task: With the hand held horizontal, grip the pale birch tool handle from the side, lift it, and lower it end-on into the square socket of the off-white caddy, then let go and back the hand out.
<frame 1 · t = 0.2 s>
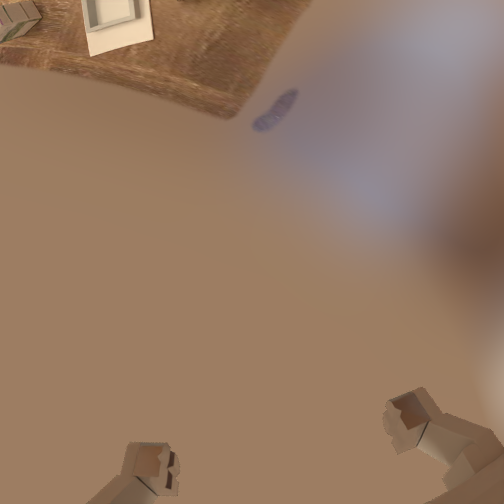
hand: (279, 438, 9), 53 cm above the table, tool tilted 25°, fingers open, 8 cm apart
caddy: (116, 4, 31), on the table
syrup box: (28, 18, 27), on the table
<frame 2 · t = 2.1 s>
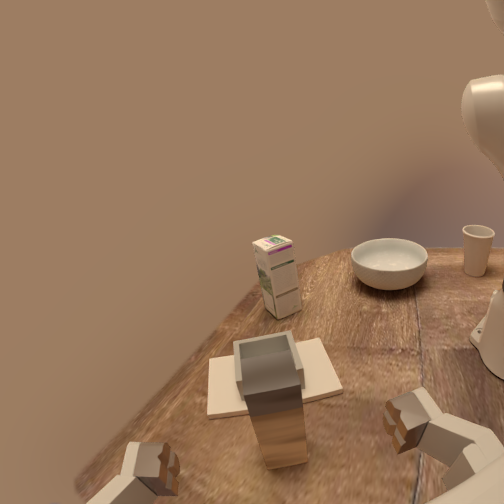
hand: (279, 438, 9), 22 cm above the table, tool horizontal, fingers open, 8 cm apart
caddy: (270, 379, 40), on the table
cereal bowl: (388, 282, 59), on the table
dixie cup: (474, 272, 53), on the table
tool handle: (284, 451, 28), on the table
syrup box: (283, 310, 57), on the table
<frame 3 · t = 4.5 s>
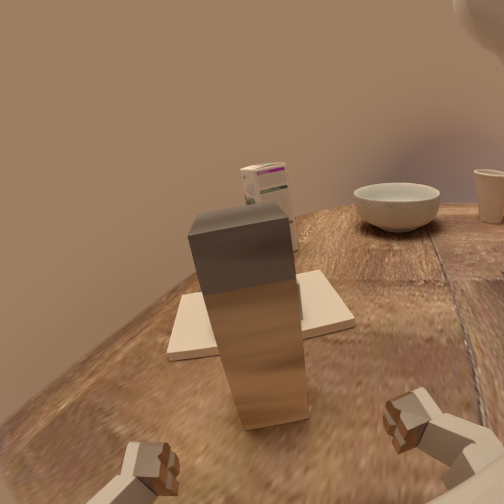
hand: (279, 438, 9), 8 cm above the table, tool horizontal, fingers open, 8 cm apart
caddy: (256, 314, 32), on the table
cereal bowl: (398, 227, 51), on the table
dixie cup: (490, 220, 45), on the table
tool handle: (272, 402, 20), on the table
syrup box: (276, 252, 49), on the table
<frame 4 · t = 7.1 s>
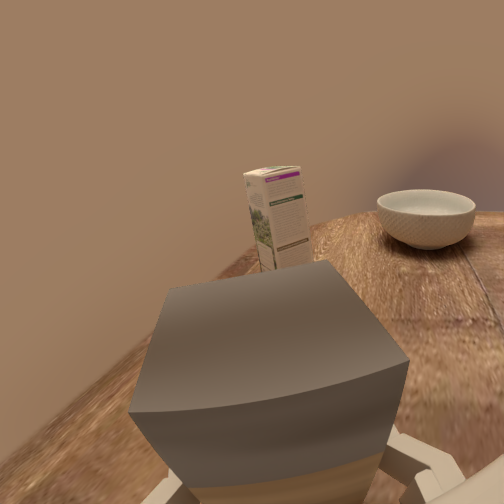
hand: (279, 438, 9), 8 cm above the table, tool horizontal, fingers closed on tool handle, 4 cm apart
cereal bowl: (426, 242, 42), on the table
syrup box: (287, 275, 40), on the table
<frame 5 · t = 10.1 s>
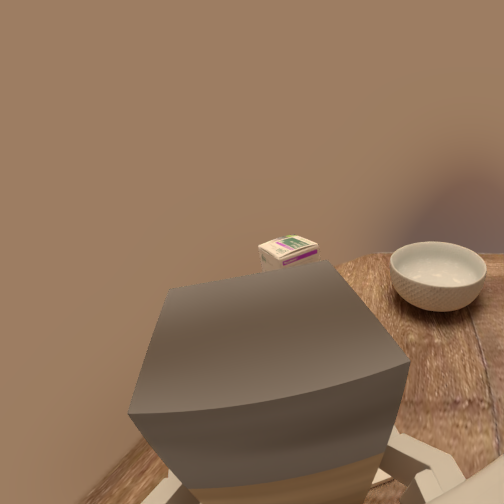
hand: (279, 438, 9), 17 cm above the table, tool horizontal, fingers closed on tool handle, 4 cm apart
cereal bowl: (434, 299, 41), on the table
syrup box: (299, 340, 40), on the table
when the fingers open (10 cm above the table, at t = 13.0 s): tool handle stays where it is, resting on caddy.
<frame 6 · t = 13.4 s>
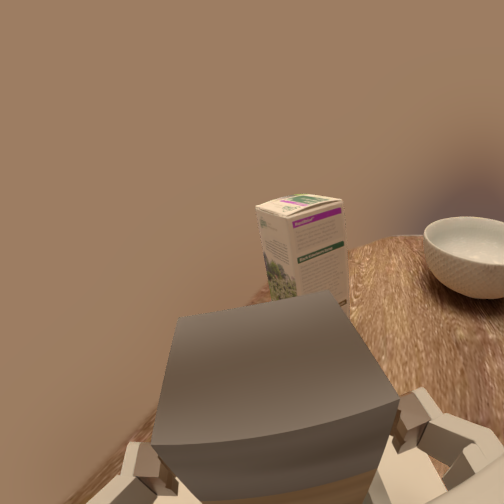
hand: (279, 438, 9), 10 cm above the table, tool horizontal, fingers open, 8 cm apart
cereal bowl: (475, 286, 30), on the table
syrup box: (312, 342, 29), on the table
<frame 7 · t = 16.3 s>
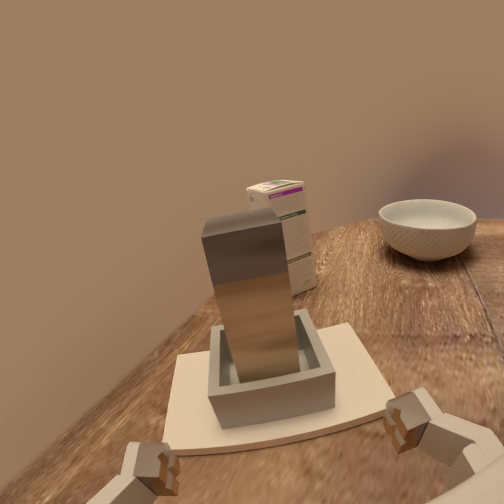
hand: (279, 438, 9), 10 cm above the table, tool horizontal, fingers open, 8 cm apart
caddy: (272, 389, 23), on the table
cereal bowl: (427, 253, 42), on the table
tool handle: (271, 382, 23), point 1 cm above the table, touching caddy
syrup box: (289, 287, 41), on the table
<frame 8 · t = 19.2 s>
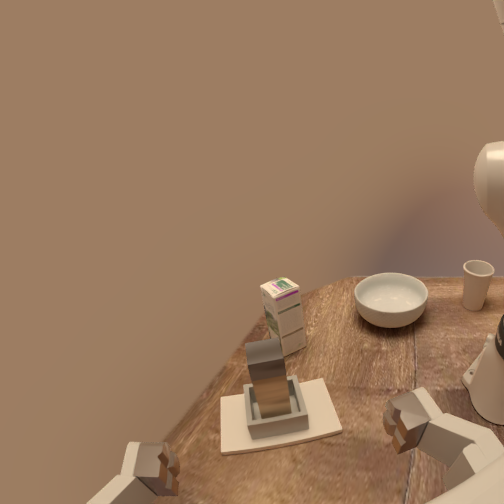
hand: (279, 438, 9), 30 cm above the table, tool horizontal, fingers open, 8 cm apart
caddy: (277, 417, 41), on the table
cereal bowl: (389, 317, 60), on the table
dixie cup: (472, 305, 55), on the table
tool handle: (276, 414, 41), point 1 cm above the table, touching caddy
syrup box: (288, 346, 59), on the table
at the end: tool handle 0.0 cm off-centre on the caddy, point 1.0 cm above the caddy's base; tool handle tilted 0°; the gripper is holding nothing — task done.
